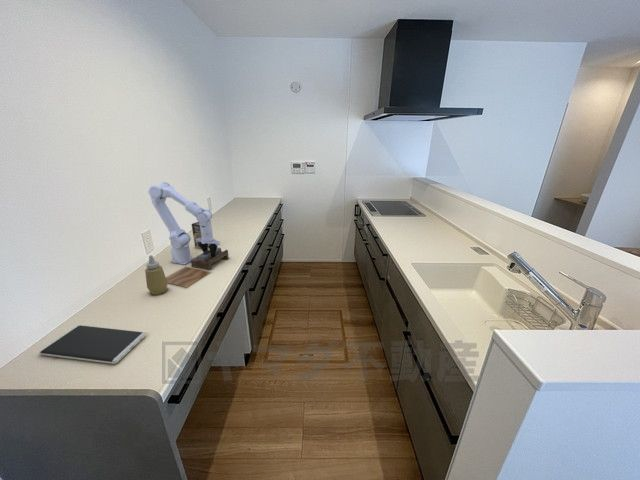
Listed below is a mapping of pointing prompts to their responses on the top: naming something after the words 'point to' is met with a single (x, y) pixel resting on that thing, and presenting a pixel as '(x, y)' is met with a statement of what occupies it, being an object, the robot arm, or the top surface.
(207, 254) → the remote
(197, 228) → the coffee box
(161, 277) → the squeeze bottle
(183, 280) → the mat
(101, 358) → the black flat slab
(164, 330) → the top surface
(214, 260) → the shelf
